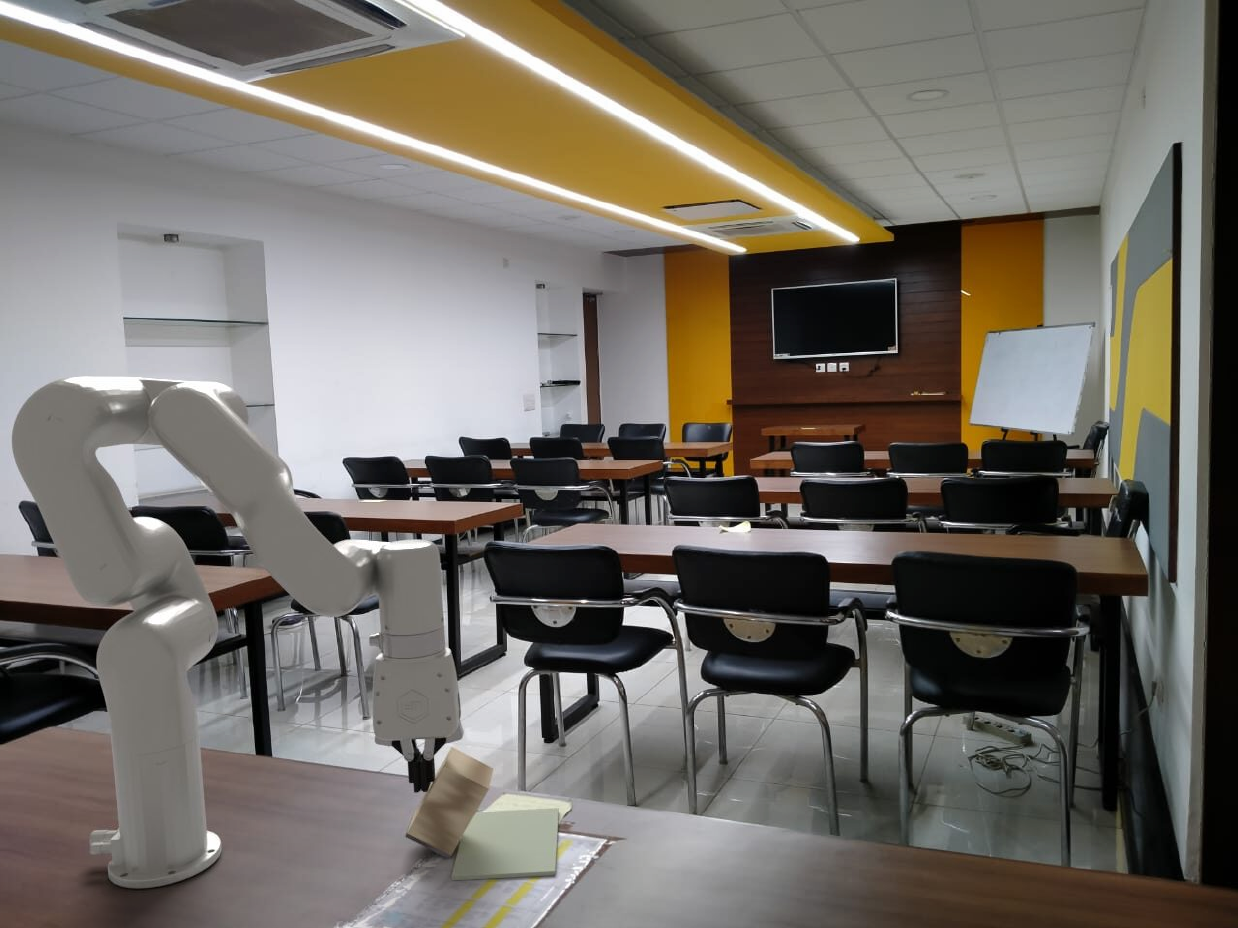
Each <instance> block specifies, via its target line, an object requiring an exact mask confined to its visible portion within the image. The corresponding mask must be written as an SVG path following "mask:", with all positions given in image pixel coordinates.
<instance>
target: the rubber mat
mask: <svg viewBox="0 0 1238 928" xmlns="http://www.w3.org/2000/svg"><path fill="white" fill-rule="evenodd" d="M559 810H560V808H558V807H557V808H555V807H554V808H541V809H540V808H537V809H535V808H534V809H516V810H498V811H497V810H496V811H476V813H475V814H474V816H473V818H472V820H471V821H470V823H469V825H468V827H467V829H466V830H465V832H464V834H463V836H462V837H461V839H460V841H459V842H460V843H459V845H458V850H457V854H456V858H455V861H454V865H453V869H452V873H451V881H466V880H487V879H488V880H489V879H490V880H491V879H503V878H504V879H507V878H523V877H524V878H526V877H541V876H542V877H543V876H544V877H547V876H556V869H557V854H558V853H557V850H558V849H557V848H558V834H559V833H558V831H559V814H560V811H559Z"/></svg>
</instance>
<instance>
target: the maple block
mask: <svg viewBox="0 0 1238 928" xmlns="http://www.w3.org/2000/svg"><path fill="white" fill-rule="evenodd" d="M437 770H438V771H436V772H435V781H434V782H431V784H430V786H429V789H428V792H424V795H423V796H422V798H421V800H420V801H419V804H418V805H417V807H416V809H415V810H414V813H413V815H412V817H411V820H410V822H409V825H408V828H407V830H406V833H405V835H404V837H405V838H407V839H409V840H411V841H413V842H415V843H416V844H419V845H421V846H422V847H424V848H427V849H428V850H430V851H432V852H434V853H436V854H438V855H440V856H442V857H444V858H446V859H448V860H450V858H451V857H452V855H453V853H454V851H455V849H456V848H457V846H458V844H460V843H459V842H461V838H462V836H463V834H464V832H465V830H466V829H467V827H468V825H469V823H470V821H471V820H472V818H473V816H474V814H475V813H476V812H478V810H479V808H480V805H481V804H482V802H483V800H484V798H485V797H486V794H488V791H489V790H490V785H491V781H492V777H493V772H494V767H492V766H489V765H487V764H485V763H484V762H482V761H480V760H478V759H476V758H474V757H472V756H471V755H468V754H466V753H464V752H462V751H461V750H458V749H457V748H455V747H453V746H451V747H450V749H449V751H448V752H447V754H446V756H445V757H444V760H443V761H442V763H441V765H440V767H439V768H438V769H437Z"/></svg>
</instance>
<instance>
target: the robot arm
mask: <svg viewBox="0 0 1238 928" xmlns="http://www.w3.org/2000/svg"><path fill="white" fill-rule="evenodd" d="M249 416H250V415H249V411H248V407H247V405H246V403H245V401H244V399H243V398H242V397H241V395H240V394H239V393H238V392H236V391H235V390H234V389H233V388H232V387H230V386H228V385H226V384H223V383H222V382H221V383H220V382H216V381H191V380H190V381H188V380H173V379H161V378H159V379H158V378H145V377H134V376H133V377H131V376H96V375H95V376H94V375H93V376H91V375H90V376H89V375H88V376H86V375H84V376H83V375H82V376H70V377H65V378H61V379H57V380H53V381H51V382H48V383H47V384H45V385H43V386H42V387H40V388H38V389H37V390H36V391H34V392H33V393H32V394H31V395H30V396H29V397H28V398H27V399H26V401H25V402H24V403H23V404H22V406H21V408H20V409H19V411H18V413H17V414H16V417H15V420H14V423H13V427H12V434H11V448H12V450H11V451H12V454H13V458H14V462H15V464H16V467H17V469H18V472H19V473H20V476H21V478H22V480H23V482H24V484H25V485H26V487H27V489H28V491H29V492H30V494H31V496H32V498H33V500H34V502H35V504H36V505H37V508H38V510H39V512H40V514H41V517H42V519H43V521H44V523H45V526H46V528H47V531H48V533H49V535H50V537H51V539H52V542H53V544H54V546H55V548H56V550H57V553H58V555H59V557H60V560H61V561H62V563H63V565H64V567H65V570H66V572H67V574H68V576H69V579H70V580H71V583H72V585H73V586H74V589H75V590H76V592H77V593H78V595H79V596H80V597H81V598H82V599H83V600H84V601H85V602H87V603H89V604H91V605H93V606H95V607H99V608H110V607H111V608H112V607H118V606H120V605H125V604H126V603H129V605H130V606H131V609H132V610H133V611H132V612H130V613H129V614H127V615H125V616H123V617H121V619H119V620H117V621H116V622H115V623H114V624H113V625H112V626H111V627H110V628H108V630H107V632H106V633H105V634H104V635H103V637H102V639H101V640H100V643H99V645H98V648H97V652H96V660H95V661H96V671H97V676H98V680H99V684H100V686H101V689H102V693H103V696H104V701H105V705H106V709H107V715H108V723H109V731H110V743H111V750H112V751H111V753H112V764H113V773H114V783H115V797H116V808H117V810H116V811H117V819H118V820H117V821H118V828H117V830H110V829H98V830H97V829H96V830H93V831H91V833H90V834H89V835H90V836H89V840H88V841H89V854H91V856H92V855H94V856H95V855H103V854H109V855H110V856H112V858H111V859H110V861H109V862H108V866H107V872H108V873H107V875H108V878H109V880H110V882H112V883H113V884H114V885H117V886H119V887H122V888H128V889H152V888H156V887H162V886H163V887H164V886H167V885H171V884H175V883H178V882H181V881H184V880H186V879H189V878H191V877H193V876H195V875H197V874H200V873H202V872H203V871H204V870H206V869H208V868H209V867H210V866H212V865H213V864H214V863H215V862H216V861H217V860H218V859H219V858H220V856H221V853H222V848H223V847H222V840H221V838H220V836H219V835H217V834H216V833H214V832H213V831H209V830H208V829H207V817H206V807H205V806H206V805H205V803H206V802H205V793H204V780H203V779H204V778H203V765H202V755H201V754H202V753H201V740H200V730H199V718H198V712H197V704H196V700H195V698H194V695H193V692H192V690H191V687H190V683H189V680H188V673H187V672H188V671H189V670H190V669H191V668H192V667H194V665H196V664H197V663H198V662H200V661H201V660H202V659H204V658H205V657H206V656H207V655H208V654H209V653H210V652H211V650H212V649H213V647H214V646H215V643H216V641H217V639H218V634H219V621H218V616H217V613H216V610H215V607H214V604H213V601H211V597H210V595H209V593H208V591H207V589H206V586H205V585H204V582H203V580H202V577H201V576H200V573H199V571H198V569H197V566H196V565H195V562H194V560H193V558H192V556H191V554H190V551H189V549H188V548H187V546H186V544H185V542H184V539H182V537H181V536H180V535H179V534H178V533H177V531H176V530H175V529H174V528H173V527H171V526H170V524H167V523H166V522H164V521H162V520H160V519H158V518H153V517H150V516H137V517H133V516H132V514H131V513H130V511H129V509H128V507H127V505H126V502H125V500H124V498H123V495H122V493H121V490H120V488H119V486H118V485H117V483H116V481H115V479H114V477H112V475H111V474H110V472H108V471H107V469H106V468H105V467H104V466H103V465H102V464H101V463H100V461H99V460H98V457H97V454H96V451H98V449H99V448H105V447H113V446H119V445H120V446H121V445H151V446H152V445H153V446H162V447H163V448H164V449H165V450H166V451H167V452H168V453H169V454H170V455H171V456H172V457H173V458H174V459H175V460H176V461H177V462H178V463H179V464H180V465H181V466H182V467H183V468H184V469H185V470H186V471H187V472H189V473H190V474H191V475H192V476H193V478H195V479H196V480H197V481H198V482H199V483H200V484H201V485H202V486H203V487H204V488H205V489H206V490H207V491H208V492H209V493H211V495H212V496H213V497H214V499H216V500H217V501H218V502H219V503H220V504H221V505H222V506H223V507H224V508H225V509H226V510H227V511H228V512H229V513H230V514H231V516H232V517H233V519H234V520H235V521H234V522H235V523H236V525H237V528H238V530H239V533H240V534H241V535H242V537H243V539H244V540H245V542H246V543H247V545H248V547H249V549H250V550H251V552H252V554H253V555H254V557H255V558H256V560H257V561H258V563H260V565H261V567H263V568H264V570H265V571H266V572H267V573H268V574H269V575H270V577H272V579H273V580H275V581H276V583H278V584H279V585H280V586H281V587H282V588H283V589H284V590H285V591H286V592H287V593H288V594H289V595H290V596H291V597H292V598H293V599H294V600H295V601H296V602H298V603H299V604H300V605H301V606H303V608H305V609H307V610H309V611H310V612H312V613H313V614H316V615H318V616H321V617H327V618H338V617H341V616H345V615H347V614H349V613H351V612H352V611H354V609H356V608H357V607H359V605H360V604H361V603H363V601H365V600H367V599H369V598H371V597H374V596H376V597H378V606H379V607H378V608H379V622H380V623H379V625H380V631H379V632H378V633H376V634H370V635H369V640H368V641H369V642H368V643H369V646H370V647H377V648H378V649H379V650H380V653H379V654H378V655H377V656H376V657H375V660H374V669H373V679H372V681H373V682H372V727H373V734H374V743H375V744H376V745H379V746H386V747H392V748H394V749H395V750H396V751H397V752H398V753H399V754H400V755H402V756H403V759H404V761H406V762H407V772H408V783H409V784H413V793H420V792H422V793H426V792H428V789H429V786H430V784H431V782H434V781H435V775H436V767H435V765H436V764H435V756H436V755H437V753H438V752H439V751H440V750H441V749H442V748H443V747H444V746H445V745H447V744H452V743H454V742H458V741H461V740H462V739H463V736H464V735H465V732H464V731H465V730H464V728H463V724H462V721H461V719H462V718H461V714H462V711H461V710H462V706H461V698H460V690H459V683H458V682H459V681H458V676H457V675H458V674H457V670H456V665H455V661H454V658H453V654H452V653H453V652H452V650H451V649H450V648H449V647H446V639H445V637H446V635H445V621H444V620H445V619H444V604H443V587H442V572H441V571H442V569H441V555H440V550H439V548H438V545H436V543H434V542H433V541H430V540H427V539H402V540H401V539H400V540H396V541H392V542H390V541H389V542H387V541H374V540H365V539H357V538H355V539H344V540H341V541H338V542H336V543H331V542H330V541H329V540H328V539H327V538H326V537H325V536H324V535H323V534H322V532H321V531H319V530H318V528H317V527H316V526H315V525H314V524H313V523H312V521H310V519H309V518H308V516H307V515H306V514H305V512H304V511H303V510H302V508H301V506H300V504H299V502H298V500H297V497H296V495H295V490H294V482H293V476H292V475H293V474H292V472H291V470H290V467H289V465H288V464H287V463H286V461H284V459H282V458H281V457H280V456H279V455H278V454H277V453H276V452H275V451H274V450H273V449H272V448H271V447H270V446H269V445H268V444H267V443H266V442H265V441H264V440H263V439H262V438H261V437H260V436H259V435H258V434H257V433H256V432H255V431H253V429H252V428H251V427H250V426H249ZM417 740H424V745H423V750H422V751H421V750H420V748H419V746H418V742H417Z"/></svg>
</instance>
